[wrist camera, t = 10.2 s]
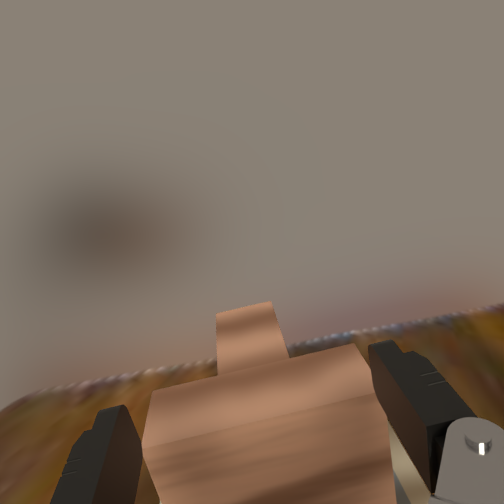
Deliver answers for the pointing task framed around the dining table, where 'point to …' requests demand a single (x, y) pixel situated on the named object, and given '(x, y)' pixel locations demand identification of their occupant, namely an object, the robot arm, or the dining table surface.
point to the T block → (270, 425)
